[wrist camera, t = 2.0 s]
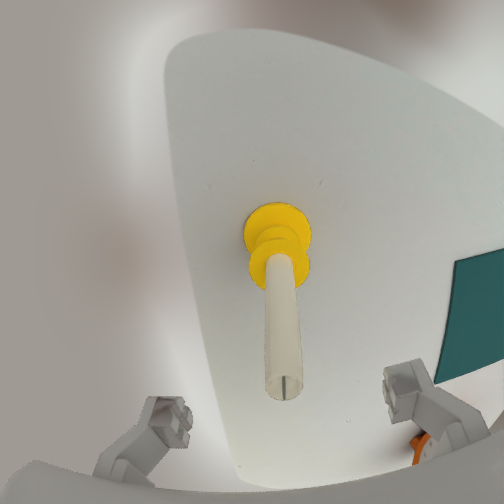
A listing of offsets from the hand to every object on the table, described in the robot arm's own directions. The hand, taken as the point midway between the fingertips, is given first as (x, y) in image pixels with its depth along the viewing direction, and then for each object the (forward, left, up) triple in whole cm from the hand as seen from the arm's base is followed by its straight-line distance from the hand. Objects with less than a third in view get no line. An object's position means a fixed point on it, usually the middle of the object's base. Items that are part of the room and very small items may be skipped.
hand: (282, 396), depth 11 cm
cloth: (+15, +22, -15) cm, 31 cm away
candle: (0, 0, -15) cm, 15 cm away
